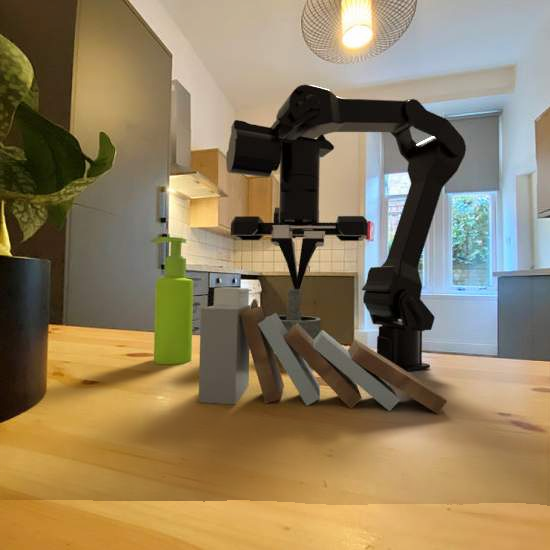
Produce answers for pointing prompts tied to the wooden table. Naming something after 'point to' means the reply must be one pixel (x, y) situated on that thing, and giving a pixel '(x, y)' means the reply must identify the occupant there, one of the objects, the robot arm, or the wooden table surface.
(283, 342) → the domino
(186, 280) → the soap dispenser
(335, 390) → the domino
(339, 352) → the domino
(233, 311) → the bookend
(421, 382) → the domino
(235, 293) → the skincare box
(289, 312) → the mortar and pestle
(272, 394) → the domino
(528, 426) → the wooden table surface
